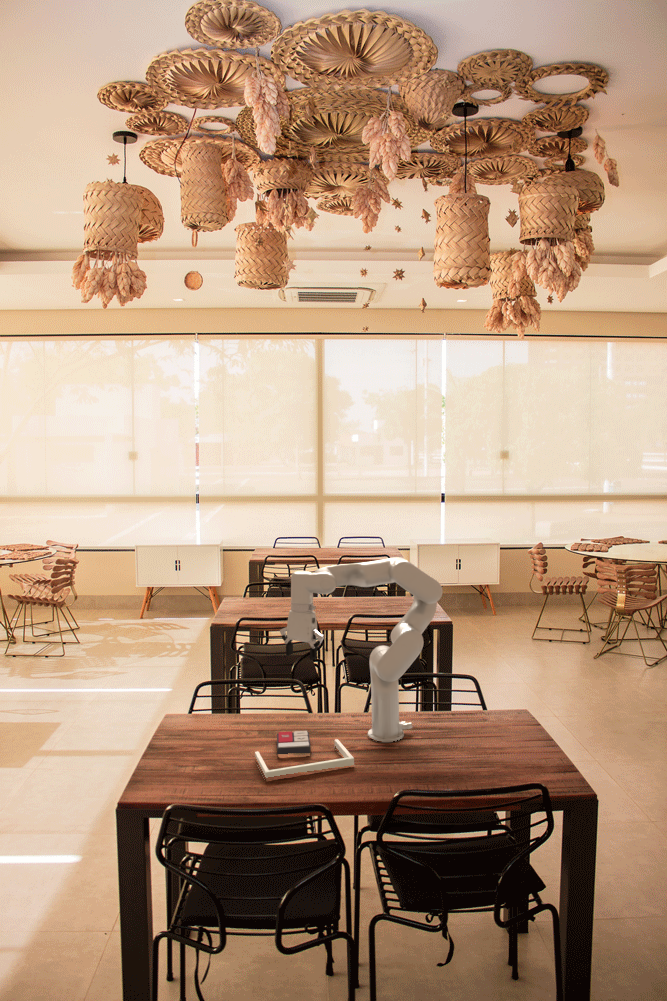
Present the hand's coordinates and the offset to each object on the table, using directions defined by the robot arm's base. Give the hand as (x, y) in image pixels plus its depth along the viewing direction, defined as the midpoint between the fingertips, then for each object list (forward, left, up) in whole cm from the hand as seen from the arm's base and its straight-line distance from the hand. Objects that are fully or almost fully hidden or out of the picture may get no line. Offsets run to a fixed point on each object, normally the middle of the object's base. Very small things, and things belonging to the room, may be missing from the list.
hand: (301, 657), depth 243 cm
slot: (+5, +16, -30) cm, 34 cm away
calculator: (+5, +4, -31) cm, 31 cm away
